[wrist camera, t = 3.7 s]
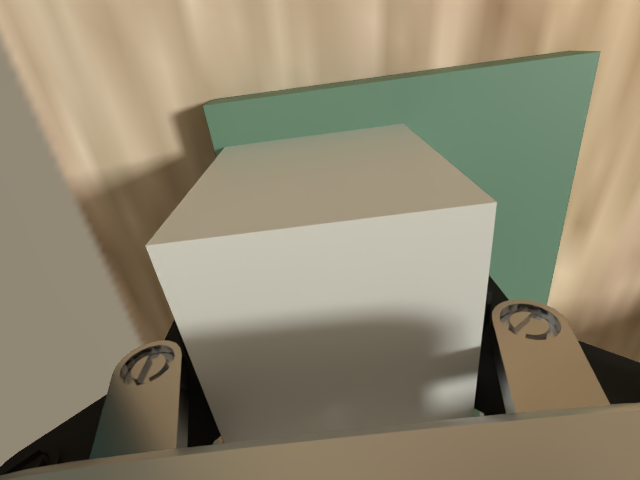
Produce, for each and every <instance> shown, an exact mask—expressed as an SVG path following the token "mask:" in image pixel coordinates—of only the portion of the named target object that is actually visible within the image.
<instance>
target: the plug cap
mask: <svg viewBox="0 0 640 480" xmlns="http://www.w3.org/2000/svg"><path fill="white" fill-rule="evenodd" d="M496 206H497V202H496V201H495V200H494V199H493V198H491V197H490V196H489V195H488V194H487V193H485V192H484V191H483V190H482V189H481V188H480V187H478V186H477V185H476V184H475V183H474V182H472V181H471V180H470V179H469V178H468V177H466V176H465V175H464V174H463V173H462V172H460V171H459V170H458V169H457V168H456V167H454V166H453V165H452V164H451V163H450V162H448V161H447V160H446V159H445V158H444V157H442V156H441V155H440V154H439V153H438V152H436V151H435V150H434V149H433V148H432V147H431V146H429V145H428V144H427V143H426V142H425V141H423V140H422V139H421V138H420V137H419V136H417V135H416V134H415V133H414V132H413V131H411V130H410V129H409V128H408V127H407V126H405V125H404V124H395V125H388V126H380V127H372V128H365V129H357V130H350V131H342V132H334V133H327V134H319V135H312V136H304V137H297V138H289V139H282V140H274V141H266V142H259V143H251V144H244V145H236V146H229V147H225V148H224V149H223V150H222V151H221V152H220V154H219V155H218V156H217V157H216V159H215V160H214V161H213V162H212V164H211V165H210V166H209V167H208V169H207V170H206V171H205V172H204V174H203V175H202V176H201V177H200V179H199V180H198V181H197V182H196V183H195V185H194V186H193V187H192V188H191V190H190V191H189V192H188V193H187V195H186V196H185V197H184V198H183V200H182V201H181V202H180V203H179V205H178V206H177V207H176V208H175V209H174V211H173V212H172V213H171V214H170V216H169V217H168V218H167V219H166V221H165V222H164V223H163V224H162V226H161V227H160V228H159V229H158V231H157V232H156V233H155V234H154V236H153V237H152V238H151V239H150V240H149V242H148V243H147V244H146V245H145V246H146V249H147V251H148V254H149V256H150V259H151V261H152V264H153V266H154V269H155V271H156V274H157V276H158V279H159V281H160V284H161V286H162V289H163V291H164V294H165V296H166V299H167V301H168V304H169V306H170V309H171V311H172V314H173V316H174V319H175V321H176V324H177V326H178V329H179V331H180V334H181V336H182V339H183V342H184V344H185V347H186V349H187V352H188V354H189V357H190V359H191V362H192V364H193V367H194V369H195V372H196V374H197V377H198V379H199V382H200V384H201V387H202V389H203V392H204V394H205V397H206V399H207V402H208V404H209V407H210V409H211V412H212V414H213V417H214V419H215V422H216V424H217V427H218V429H219V432H220V434H221V437H222V439H223V442H224V443H232V442H241V441H250V440H259V439H268V438H278V437H287V436H296V435H306V434H315V433H324V432H334V431H343V430H353V429H362V428H372V427H381V426H391V425H400V424H410V423H419V422H429V421H439V420H449V419H459V418H469V417H473V411H474V402H475V393H476V384H477V375H478V366H479V358H480V349H481V340H482V331H483V322H484V313H485V304H486V295H487V286H488V277H489V269H490V260H491V251H492V242H493V233H494V224H495V215H496Z"/></svg>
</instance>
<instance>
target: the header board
mask: <svg viewBox="0 0 640 480" xmlns="http://www.w3.org/2000/svg"><path fill="white" fill-rule="evenodd" d="M599 56H600V51H564V52H557V53H549V54H542V55H535V56H528V57H520V58H513V59H506V60H498V61H491V62H484V63H476V64H469V65H462V66H454V67H447V68H440V69H432V70H425V71H418V72H410V73H403V74H396V75H388V76H381V77H374V78H366V79H359V80H352V81H344V82H337V83H330V84H322V85H315V86H308V87H300V88H293V89H286V90H278V91H271V92H264V93H256V94H249V95H242V96H235V97H227V98H220V99H213V100H211V101H210V102H208V103H206V104H205V105H203V108H204V112H205V116H206V120H207V124H208V128H209V131H210V135H211V139H212V143H213V147H214V151H215V155H216V157H217V156H218V155H219V154H220V152H221V151H222V150H223V149H224V148H225V147H229V146H236V145H244V144H251V143H259V142H266V141H274V140H282V139H289V138H297V137H304V136H312V135H319V134H327V133H334V132H342V131H350V130H357V129H365V128H372V127H380V126H388V125H395V124H404V125H405V126H407V127H408V128H409V129H410V130H411V131H413V132H414V133H415V134H416V135H417V136H419V137H420V138H421V139H422V140H423V141H425V142H426V143H427V144H428V145H429V146H431V147H432V148H433V149H434V150H435V151H436V152H438V153H439V154H440V155H441V156H442V157H444V158H445V159H446V160H447V161H448V162H450V163H451V164H452V165H453V166H454V167H456V168H457V169H458V170H459V171H460V172H462V173H463V174H464V175H465V176H466V177H468V178H469V179H470V180H471V181H472V182H474V183H475V184H476V185H477V186H478V187H480V188H481V189H482V190H483V191H484V192H485V193H487V194H488V195H489V196H490V197H491V198H493V199H494V200H495V201H496V202H497V206H496V215H495V224H494V233H493V242H492V251H491V260H490V269H489V275H490V277H491V278H492V279H493V280H494V282H495V283H496V284H497V285H498V287H499V288H500V289H501V291H502V292H503V293H504V294H505V296H506V297H507V298H508V299H509V300H517V299H523V300H531V301H535V302H539V303H542V304H545V305H547V302H548V297H549V292H550V287H551V283H552V278H553V273H554V268H555V264H556V259H557V254H558V250H559V245H560V240H561V235H562V231H563V226H564V221H565V216H566V212H567V207H568V202H569V198H570V193H571V188H572V183H573V179H574V174H575V169H576V164H577V160H578V155H579V150H580V146H581V141H582V136H583V131H584V127H585V122H586V117H587V113H588V108H589V103H590V98H591V94H592V89H593V84H594V79H595V75H596V70H597V65H598V61H599ZM479 416H480V411H478V410H476V409H475V408H474V411H473V417H479Z"/></svg>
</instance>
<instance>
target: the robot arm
mask: <svg viewBox="0 0 640 480" xmlns="http://www.w3.org/2000/svg"><path fill="white" fill-rule="evenodd" d="M474 408H475V409H476V410H478V411H480V416H479V417H469V418H459V419H449V420H439V421H429V422H419V423H410V424H400V425H391V426H381V427H372V428H362V429H353V430H343V431H334V432H324V433H315V434H306V435H296V436H287V437H278V438H268V439H259V440H250V441H241V442H232V443H223V444H219V443H218V438H219V437H220V436H221V434H220V432H219V429H218V427H217V424H216V422H215V419H214V417H213V414H212V412H211V409H210V407H209V404H208V402H207V399H206V397H205V394H204V392H203V389H202V387H201V384H200V382H199V379H198V377H197V374H196V372H195V369H194V367H193V364H192V362H191V359H190V357H189V354H188V352H187V349H186V347H185V344H184V342H183V339H182V336H181V334H180V331H179V329H178V326H177V324H176V321H175V320H174V322H173V324H172V326H171V328H170V330H169V332H168V334H167V336H166V338H165V340H160V341H155V342H150V343H148V344H145V345H142V346H140V347H138V348H137V349H135V350H133V351H131V352H130V353H129V354H128V355H126V356H125V357H124V358H123V359H122V360H121V361H120V362H119V364H118V365H117V366H116V368H115V370H114V372H113V374H112V378H111V381H110V385H109V389H108V392H107V395H105V396H104V397H102V398H101V399H99V400H98V401H96V402H94V403H93V404H91V405H90V406H88V407H87V408H85V409H84V410H82V411H81V412H79V413H78V414H76V415H75V416H73V417H71V418H70V419H68V420H67V421H65V422H64V423H62V424H61V425H59V426H58V427H56V428H55V429H53V430H52V431H50V432H49V433H47V434H45V435H44V436H42V437H41V438H39V439H38V440H36V441H35V442H33V443H32V444H30V445H29V446H27V447H25V448H24V449H22V450H21V451H19V452H18V453H17V454H15V455H14V456H13V457H11V458H10V459H9V460H7V461H6V462H5V463H4V464H3V465H2V466H1V467H0V480H640V363H639V362H636V361H633V360H630V359H628V358H625V357H622V356H619V355H617V354H614V353H611V352H608V351H605V350H603V349H600V348H597V347H594V346H592V345H589V344H586V343H583V342H580V341H578V340H577V338H576V336H575V334H574V332H573V330H572V329H571V327H570V325H569V323H568V321H567V320H566V319H565V317H564V316H563V315H562V314H560V313H559V312H558V311H556V310H555V309H553V308H551V307H549V306H547V305H545V304H542V303H539V302H535V301H531V300H523V299H517V300H509V299H508V298H507V297H506V296H505V294H504V293H503V292H502V291H501V289H500V288H499V287H498V285H497V284H496V283H495V282H494V280H493V279H492V278H491V277H490V275H489V277H488V286H487V295H486V304H485V313H484V322H483V331H482V340H481V349H480V358H479V366H478V375H477V384H476V393H475V402H474Z"/></svg>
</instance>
